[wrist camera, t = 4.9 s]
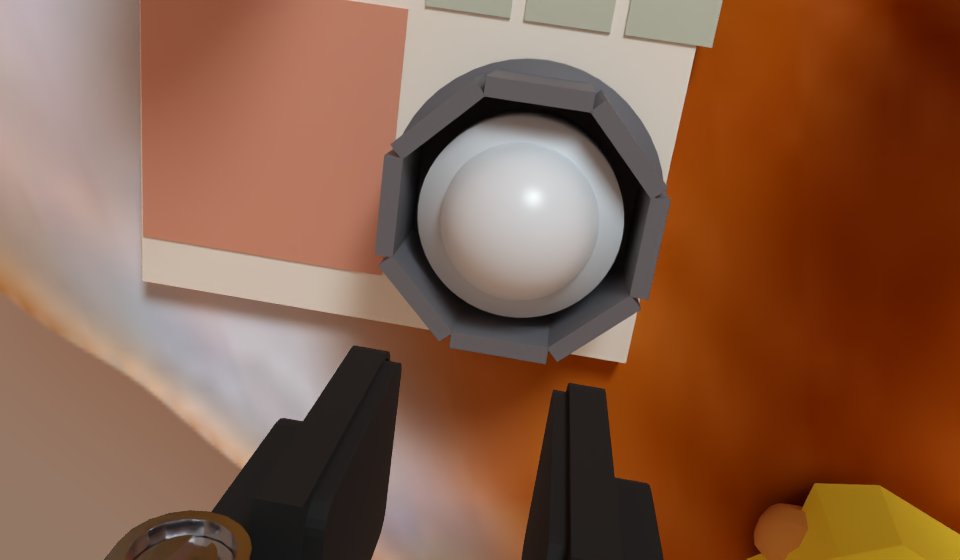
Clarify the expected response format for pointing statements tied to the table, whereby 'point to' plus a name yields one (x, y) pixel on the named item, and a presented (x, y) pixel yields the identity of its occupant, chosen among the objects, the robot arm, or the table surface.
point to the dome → (521, 213)
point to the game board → (394, 146)
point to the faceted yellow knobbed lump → (852, 528)
